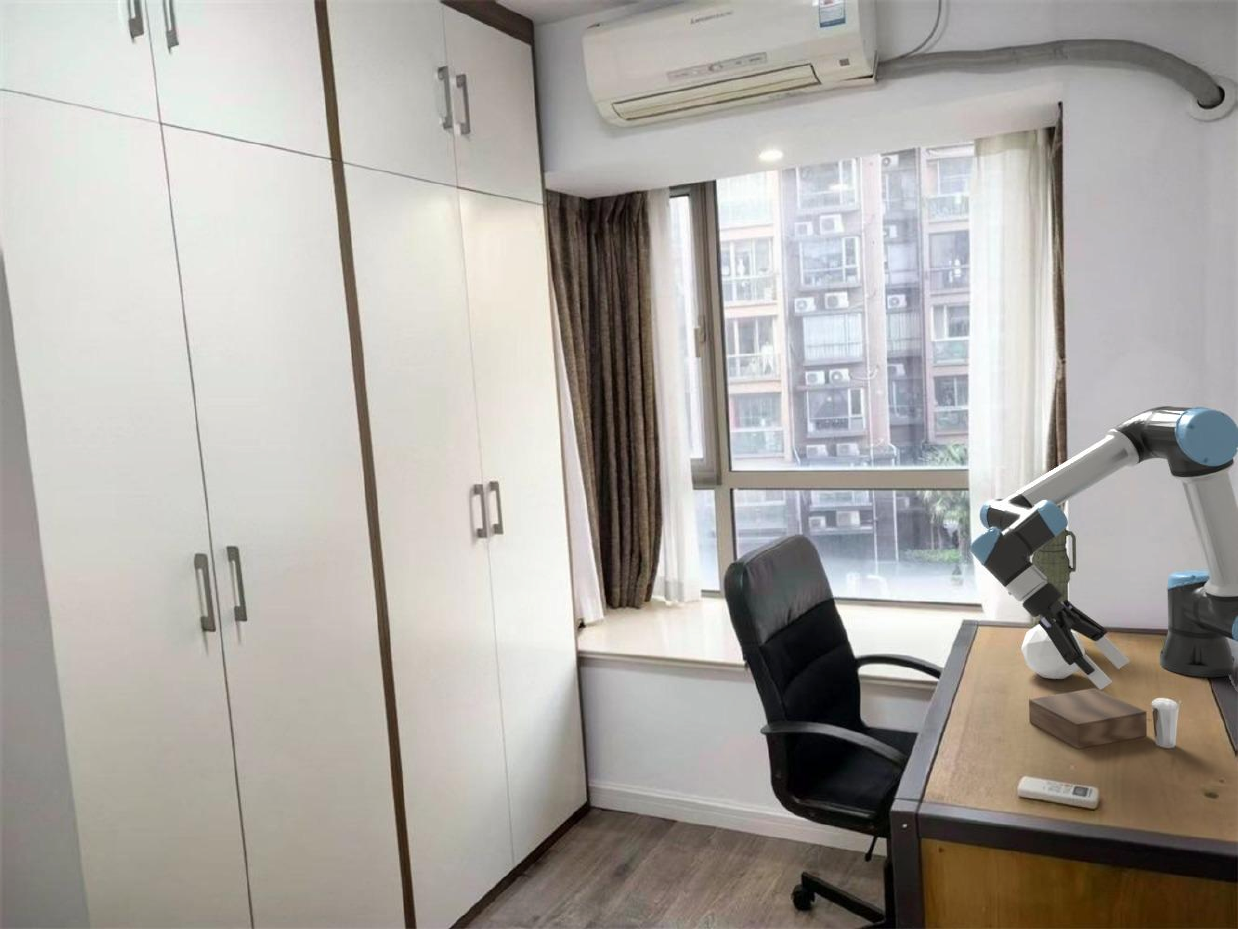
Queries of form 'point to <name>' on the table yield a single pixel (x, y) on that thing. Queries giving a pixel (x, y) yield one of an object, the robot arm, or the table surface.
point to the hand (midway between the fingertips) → (1115, 675)
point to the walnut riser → (1087, 718)
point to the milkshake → (1165, 721)
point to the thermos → (1056, 564)
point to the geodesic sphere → (1047, 654)
